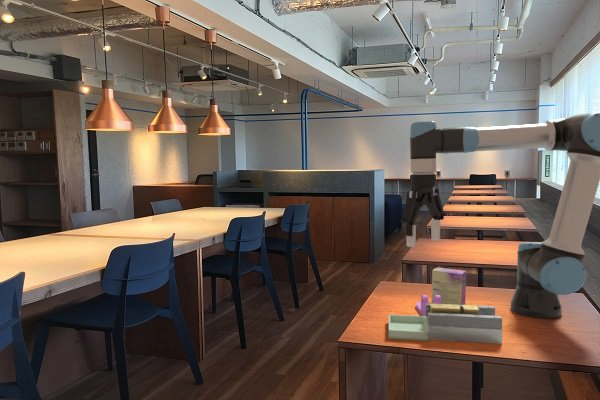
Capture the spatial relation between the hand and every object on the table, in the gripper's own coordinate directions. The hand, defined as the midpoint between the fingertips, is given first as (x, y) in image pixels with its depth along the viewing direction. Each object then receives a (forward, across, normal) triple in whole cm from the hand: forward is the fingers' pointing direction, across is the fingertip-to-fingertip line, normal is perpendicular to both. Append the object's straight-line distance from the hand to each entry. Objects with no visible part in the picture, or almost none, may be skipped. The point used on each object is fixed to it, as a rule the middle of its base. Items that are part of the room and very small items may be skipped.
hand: (423, 243), depth 147 cm
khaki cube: (+21, +4, +7) cm, 22 cm away
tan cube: (+21, +2, +10) cm, 23 cm away
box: (+25, -24, -5) cm, 35 cm away
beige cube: (+21, -1, +14) cm, 26 cm away
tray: (+25, +9, 0) cm, 26 cm away
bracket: (+25, -11, -6) cm, 28 cm away
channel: (+25, 0, +12) cm, 28 cm away
